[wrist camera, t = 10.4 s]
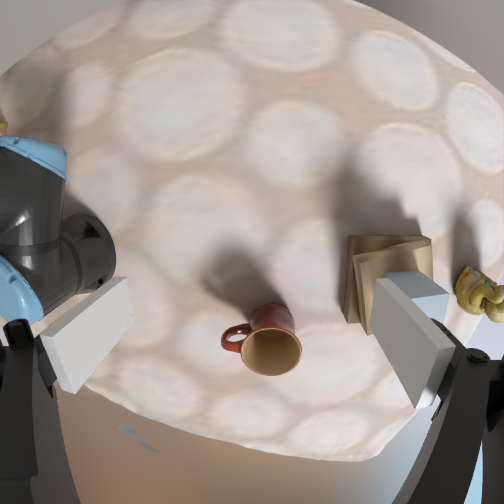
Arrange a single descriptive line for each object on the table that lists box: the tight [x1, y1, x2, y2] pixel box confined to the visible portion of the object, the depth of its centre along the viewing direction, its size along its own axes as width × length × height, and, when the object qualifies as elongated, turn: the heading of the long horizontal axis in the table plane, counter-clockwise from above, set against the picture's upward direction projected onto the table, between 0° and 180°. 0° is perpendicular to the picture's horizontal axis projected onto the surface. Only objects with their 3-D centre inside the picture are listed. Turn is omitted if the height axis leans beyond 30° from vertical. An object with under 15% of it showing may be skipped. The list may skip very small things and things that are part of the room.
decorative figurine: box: [454, 266, 504, 323], centre depth 37 cm, size 10×8×15 cm
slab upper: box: [353, 239, 433, 336], centre depth 40 cm, size 12×12×4 cm
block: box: [384, 270, 449, 324], centre depth 33 cm, size 6×6×9 cm
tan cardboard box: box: [343, 235, 431, 324], centre depth 44 cm, size 14×14×4 cm
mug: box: [221, 303, 302, 376], centre depth 44 cm, size 12×9×10 cm
